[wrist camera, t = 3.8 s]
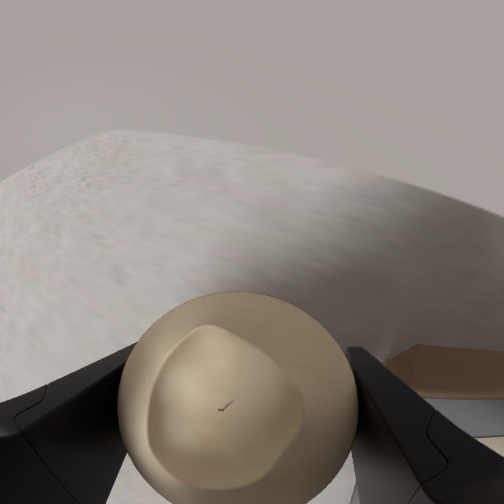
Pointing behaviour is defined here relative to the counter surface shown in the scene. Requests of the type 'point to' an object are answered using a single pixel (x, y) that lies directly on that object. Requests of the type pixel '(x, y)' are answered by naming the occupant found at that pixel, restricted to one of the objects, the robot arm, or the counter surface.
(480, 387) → the frame
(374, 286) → the counter surface
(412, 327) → the counter surface
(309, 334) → the candle
